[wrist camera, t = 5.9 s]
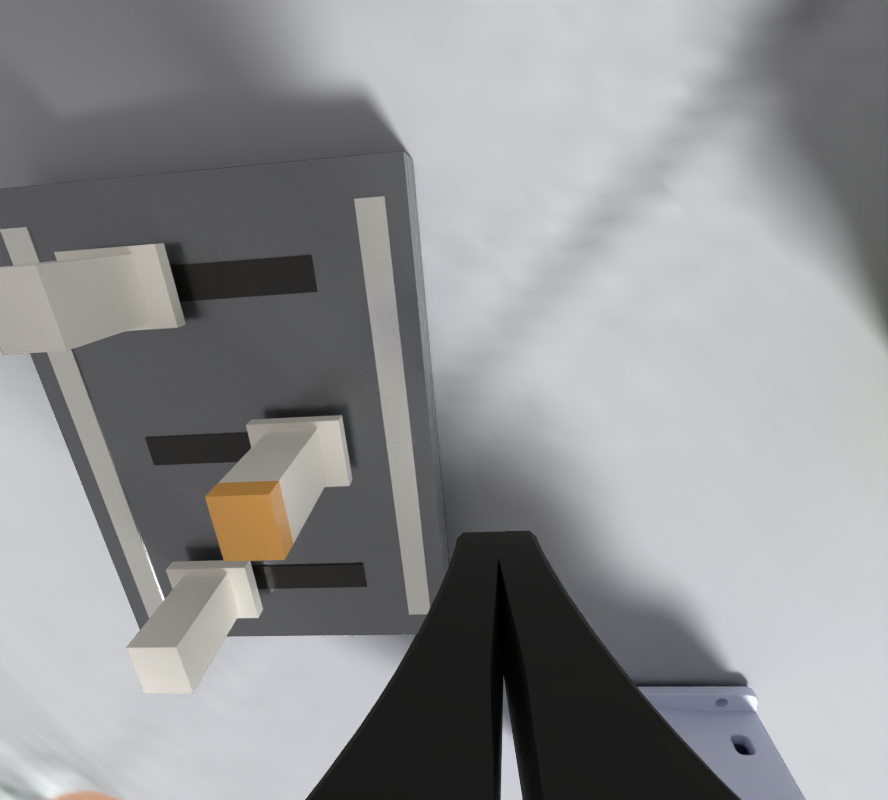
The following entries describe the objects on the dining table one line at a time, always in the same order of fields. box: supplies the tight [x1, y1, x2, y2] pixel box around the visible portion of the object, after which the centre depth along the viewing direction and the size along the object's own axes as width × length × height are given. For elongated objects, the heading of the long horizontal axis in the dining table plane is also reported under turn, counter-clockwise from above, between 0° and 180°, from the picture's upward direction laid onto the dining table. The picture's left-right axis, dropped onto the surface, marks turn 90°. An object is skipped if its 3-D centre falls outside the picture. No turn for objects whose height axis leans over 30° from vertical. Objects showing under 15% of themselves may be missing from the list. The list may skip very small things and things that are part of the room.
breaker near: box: [0, 243, 186, 355], centre depth 12 cm, size 3×2×3 cm
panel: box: [0, 151, 449, 636], centre depth 16 cm, size 12×16×2 cm
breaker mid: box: [205, 415, 352, 561], centre depth 13 cm, size 3×2×4 cm
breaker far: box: [126, 560, 263, 693], centre depth 15 cm, size 3×2×3 cm
